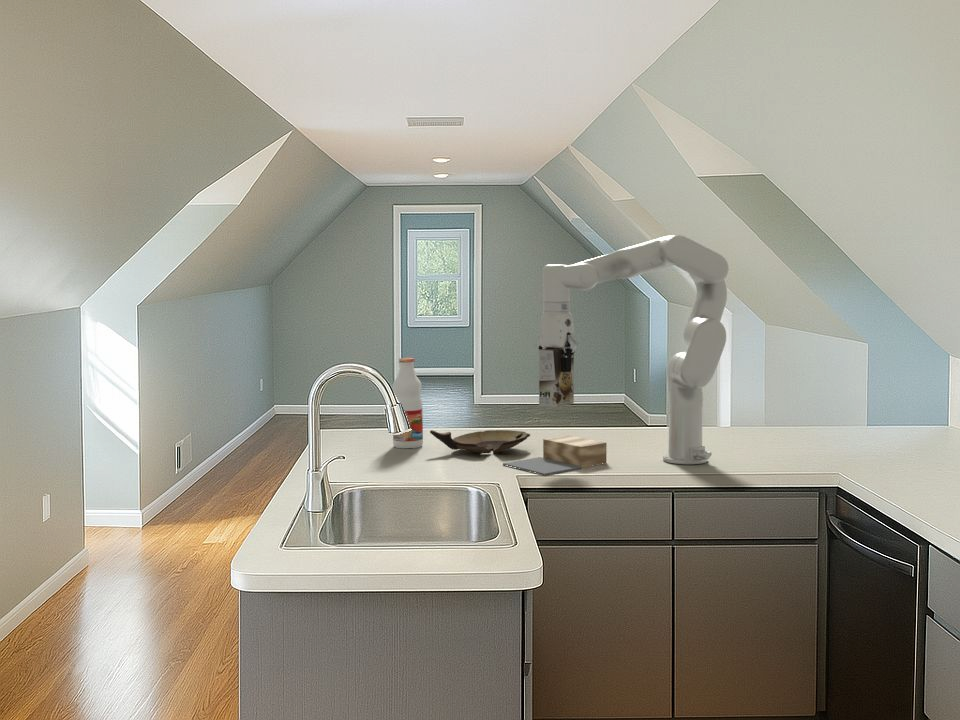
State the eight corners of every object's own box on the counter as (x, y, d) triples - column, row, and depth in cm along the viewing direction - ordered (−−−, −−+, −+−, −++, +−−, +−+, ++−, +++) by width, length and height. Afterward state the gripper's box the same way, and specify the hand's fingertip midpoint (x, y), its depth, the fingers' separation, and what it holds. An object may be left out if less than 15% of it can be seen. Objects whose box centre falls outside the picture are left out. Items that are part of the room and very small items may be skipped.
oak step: (606, 463, 283) (606, 442, 283) (581, 467, 277) (581, 446, 277) (568, 455, 296) (568, 435, 295) (543, 459, 290) (543, 439, 289)
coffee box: (557, 407, 275) (557, 350, 273) (538, 405, 279) (537, 349, 277) (574, 403, 282) (574, 347, 281) (556, 402, 286) (555, 346, 284)
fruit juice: (397, 443, 317) (395, 356, 315) (425, 444, 316) (424, 357, 313) (389, 449, 308) (388, 359, 305) (419, 449, 307) (418, 360, 304)
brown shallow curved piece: (529, 459, 291) (529, 433, 290) (428, 458, 293) (427, 432, 293) (530, 445, 313) (530, 421, 313) (437, 444, 316) (436, 420, 315)
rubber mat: (582, 468, 276) (582, 466, 276) (544, 475, 268) (544, 473, 267) (539, 459, 290) (539, 457, 290) (502, 465, 282) (502, 463, 282)
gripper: (587, 308, 273) (587, 372, 275) (545, 306, 287) (546, 367, 289) (567, 309, 269) (567, 374, 270) (526, 307, 282) (526, 369, 284)
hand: (556, 370), depth 280 cm, fingers closed on coffee box, 7 cm apart
